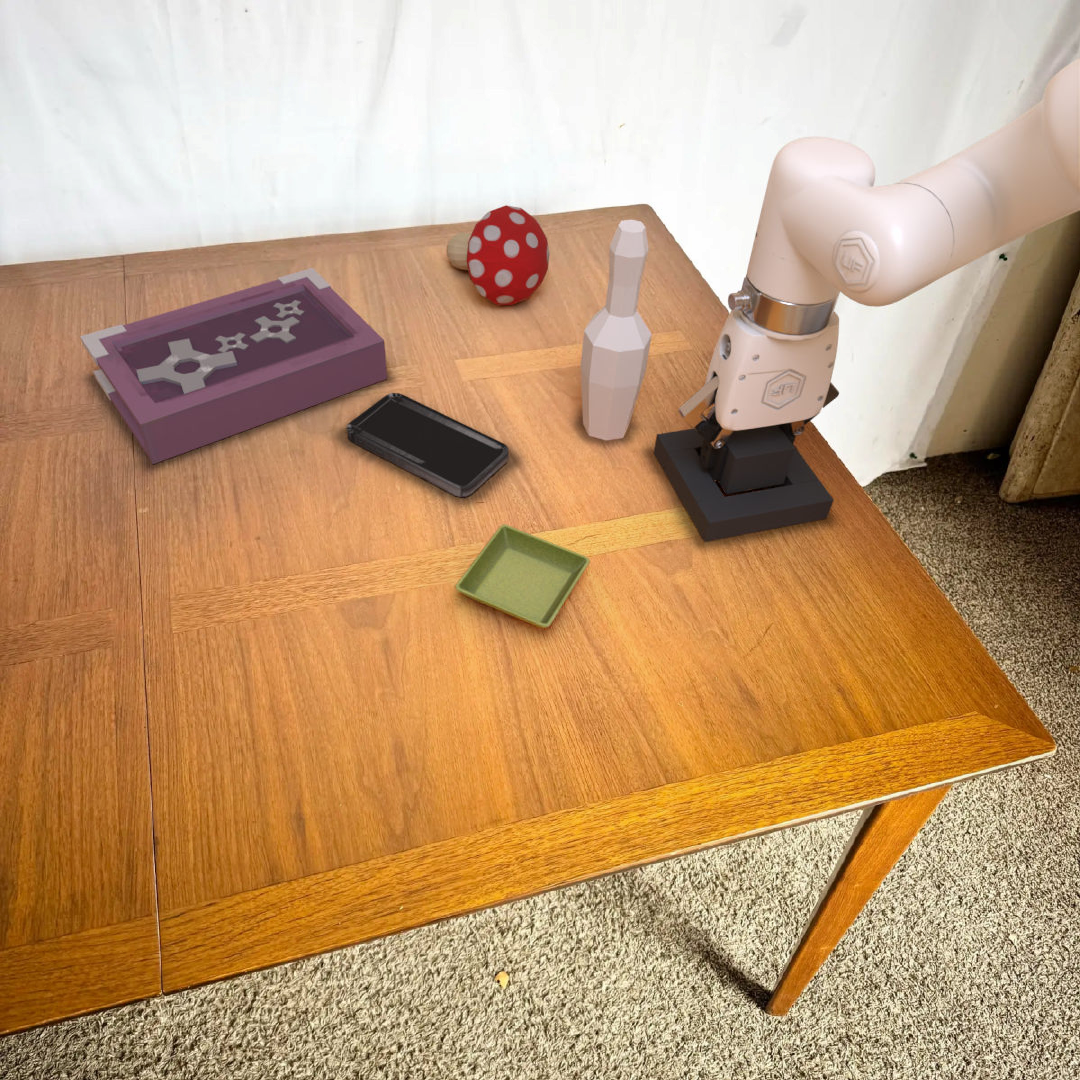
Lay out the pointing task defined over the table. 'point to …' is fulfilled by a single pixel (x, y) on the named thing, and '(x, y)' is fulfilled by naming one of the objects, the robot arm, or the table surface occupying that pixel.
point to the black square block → (755, 459)
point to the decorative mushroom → (503, 255)
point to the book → (234, 362)
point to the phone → (428, 444)
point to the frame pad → (740, 512)
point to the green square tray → (523, 576)
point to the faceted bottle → (616, 340)
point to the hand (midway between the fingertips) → (742, 464)
